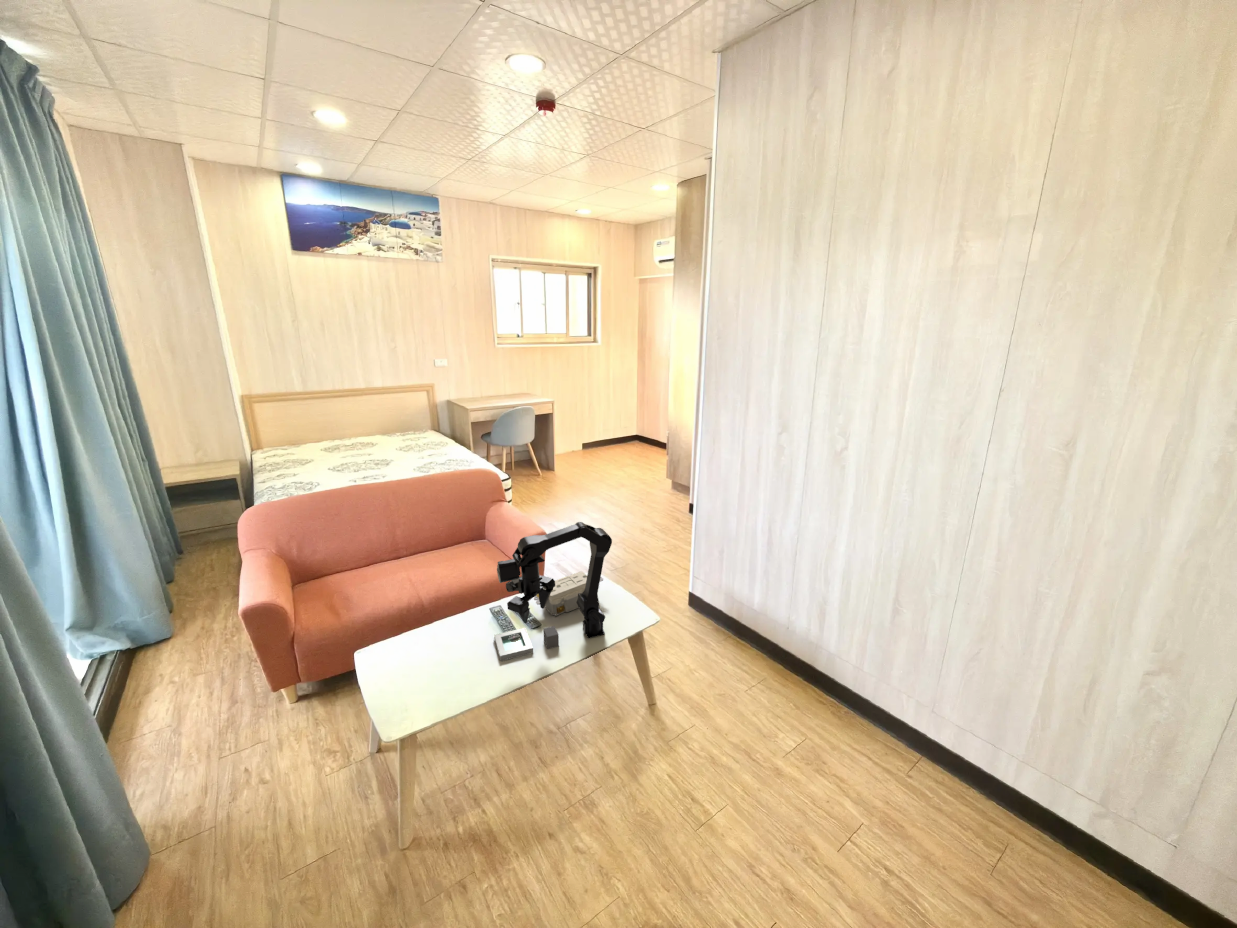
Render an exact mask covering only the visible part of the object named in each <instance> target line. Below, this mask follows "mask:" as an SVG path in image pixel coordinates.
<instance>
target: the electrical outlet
mask: <svg viewBox="0 0 1237 928" xmlns="http://www.w3.org/2000/svg"><path fill="white" fill-rule="evenodd" d="M587 575H588V574H586V573H585V572H584V571H582V570H581V571H578V572H575V573H573V574H570V575H567V576H565V577H562V578H559V579H556V580H554V581H555V587H554V588H553V590H552V592H551V594H550V596H549V598H548V600H547V602H546V604H545V607H544V609H545V608H546V610H547V611H548V613H549V614H550V615H551V616H555V617H558V616H559V615H561V614H564V613H569V612H571V611H574V610H577V609H579V607H578V605H577V603H576V602H577V600H578V593H581V594H582V593H583V592H584V590H585V586H586V580H587ZM602 581H604V578H603V577H602V576H601V578H600V582H602ZM533 600H534V601H535V604H536V605H539V606H540V601H539V594H537V595H536V596H535V597H533Z"/></svg>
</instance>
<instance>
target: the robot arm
mask: <svg viewBox="0 0 1237 928" xmlns="http://www.w3.org/2000/svg"><path fill="white" fill-rule="evenodd" d="M579 538H583V539H585V540H587V541H588V542H589V548H590V559H589V564H588V570H587V574H586V575H587V580H586V586H585V590H584V592H583V593H582V594H581V593H578V600H577V602H576V603H577V605H578V607H579V608H578V609H579V611H580V612H581V614H582V615H583V620H582V632H583V633H584V635H585V636H586V637H587V639H591V638H596V637H599V636H603V635H605V634H606V632H605V630H604V622H605V620H606V615H605V614H604V613H603V611H602V610H601V609H600V602H599V596H598V592H599V588H600V583H601V581H600V580H601V579H600V578H601V577H602V576H601V575H602V571H603V565H604V560H605V557H606V555H608V553H609V552H610V550H611V547H612V543H613V539H612V537H611V535H610V534H608V532H606V531H605V529H604V528H602V527H594V526H592V525H589V524H586V523H584V522H582V521H578V522H576V523H574V524H571V525H569V526H566V527H563V528H560V529H557V530H555V531H552V532H549V533H546V534H541V535H540V534H539V535H537V534H536V535H533V534H532V535H528V536H524V537H522V538H521V539H519V541H518V543H517V547H516V548H515V551H514V552H513V554H512V558H511V559H507V560H500V561H497V566H496V573H497V578H498V579H497V580H498V582H499V584H502V583H505V582H506V583H505V589H506V591H507V592H508V593H514V592H517V591H518V593H519V594H523V595H522V597H521V596H517V595H516V596H514V597H512V599H510V600H509V601H508V602H507V603H506V604H507V605H506V606H507V610H509V611H512V612H514V613H517V614H518V615H519V617H520V619H521V621H522V622H523V624H527V623H528V620H529V614H530V609H531V608H530V607H529V606H530V601H531V600H532V599H534V597H536V595H537V594H539V601H540V605H539V606H540V608H541V609H542V610H543V609H545V604H546V602H547V600H548V598H549V596H550V594H551V592H552V590H553V588H554V587H555V581H556V580H555V579H554V578H552V577H549V576H545V575H541V574H540V567H539V564H540V563H543V562H545V558H544V556H543V555H544V553H546V552H547V551H548V550H549V549H553V548H555V547H558V546H560V545H563V544H565V543H566V544H567V543H569V542H572V541H574V540H577V539H579Z"/></svg>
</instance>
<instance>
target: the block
mask: <svg viewBox="0 0 1237 928" xmlns="http://www.w3.org/2000/svg"><path fill="white" fill-rule="evenodd" d="M542 629H543V642H544V644H545V646H546V648H547V649H546V650H549V649H553V648H557V647H560V644H559V643H560V642H559V641H560V640H559V632H558V630H557V628H556V627H555V625H553V626H549V627H544V628H542Z"/></svg>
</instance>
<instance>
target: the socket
mask: <svg viewBox="0 0 1237 928" xmlns="http://www.w3.org/2000/svg"><path fill="white" fill-rule="evenodd" d="M513 634H519V635H520V636H521V638H520V640H518V641H516V642H511V641H510V640H508V638H509V636H511V635H513ZM493 636H494V637H493V639H494V642H495V647H496V650H497V654H498V657H499V661H500V662H503V661H507V660H511V659H513V658H518V657H522V656H525V655H526V656H527V655H529V654H533V653H534V648H533V644H532V642H531V639H530V636H529V634H528V631H527V628H526V627H522V628H517V629H514V630H509V631H504V632H501V633H497V634H494V635H493Z"/></svg>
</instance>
